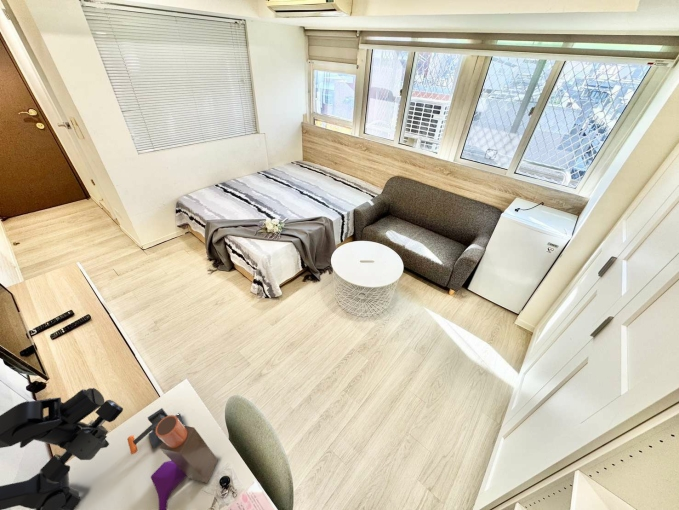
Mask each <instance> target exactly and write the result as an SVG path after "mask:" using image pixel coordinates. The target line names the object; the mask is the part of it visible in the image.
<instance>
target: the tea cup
mask: <svg viewBox="0 0 679 510" xmlns="http://www.w3.org/2000/svg"><path fill="white" fill-rule="evenodd" d="M156 435H157V436H158V437H159V438H160V439H161V440H162V441H163V442H164V443H165V444H166V445H167V446H168V447H169V448H176V447H178V446H180V445H181V444H182V443H183V442H184V441H185V439H186V437H187V430H186V428H185V427H184V426H183V424H182V423H181V422H180V421H179V419H178V418H177V417H176V416H175V415H173V414H171V415H169V414H168V416H167V417H165V418H163V419H162V420H161V421H160V422H159V423H158V425H157V427H156Z"/></svg>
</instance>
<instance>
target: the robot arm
mask: <svg viewBox="0 0 679 510" xmlns="http://www.w3.org/2000/svg"><path fill="white" fill-rule="evenodd" d="M46 409H47V411H48V412H47V413H48V415H45V416H44V411H45V410H46ZM123 411H124V408H123V407H122V406H121V405H120V404H118V403H117V402H115V400H112V399H106V400H105V398H104V395H103V394H102V393H101V391H99V390H98V389H96V388H94V387H92V388H91V387H89V388H87V389H84V388H83V389H81V390H79V391H78V392H77V393H75V394H74V395H73V396H71V397H70V398H69V399H67V400H66V401H65V402H62V398H61V397H53V398H51V397H50V398H45V399H38V400H30V401H28V400H26V401H23V402H21V403H18V404H16V405H14V406H13V407H11V408H10V409H8V410H6V411H5V412H3V413H2V414H0V449H2V448H9V447H12V446H15V445H18V444H19V448H20V449H23V448H25V447H26V446H27V445H29V444H30V443H32V442H34V441H37V442H41V443H46V444H48V445H53V446H57V447H59V448H60V449H62V450H64V451H62V454H57V453H55V454H54V455H53V456H51V458H50V459H49V460H48V461H47V462H46V463H45V464H44V466H43V467H41V468H40V470H39V472H38V473H36V474H35V475H33V476H32V477H30V478H28V479H25V480H22V481H17V482H13V483H7V484H4V485H0V510H7V509H10V508H14V507H23V508H27V509H29V510H75V508H76V507H77V506H78V504H79V503H80V501H82V498H81V496H80V492H79V490H78V489H76V488H74V487H72V486H71V485H70V476H69V472H70V471H71V466H70V465H69V464H66V463H68V461H69V460H70V459H71V458H72V457H76V458H77V459H78V460H80V461H90V460H93V459H94V458H95V457H96V455H97V454H98V453H99V452H100V450H102V449H104V448H107V447H108V446H110V443H109V442H108V440H107V437H108V436H107V434H108V433H109V430H108V429H107V428H106V427H104V426H103V424H105V422H107V423H112V422H114V421H116V420H117V418H118V417H119V416H120V415H121V414H122V413H123ZM92 413H95V414H96V415H97V418H95V420H92V419H91V420H90V421H89V422H88V423H86V422H83V421H82V420H84V419H86V418H87V417H88V416H90V415H91V414H92Z"/></svg>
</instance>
